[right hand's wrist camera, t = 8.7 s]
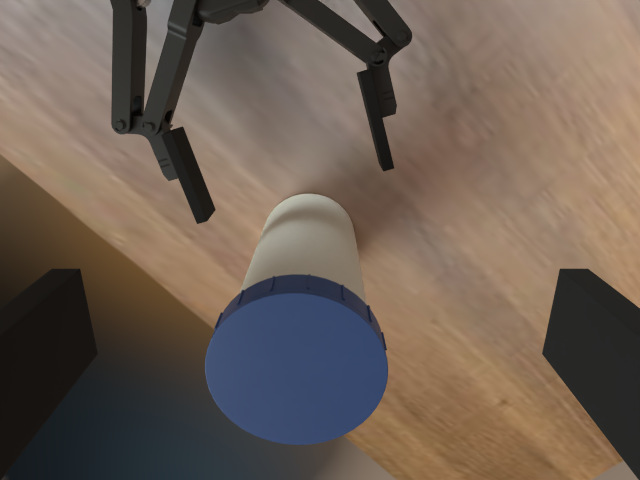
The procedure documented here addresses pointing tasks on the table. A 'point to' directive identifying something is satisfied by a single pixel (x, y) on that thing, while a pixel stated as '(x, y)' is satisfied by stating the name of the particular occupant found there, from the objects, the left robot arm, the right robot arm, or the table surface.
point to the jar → (308, 244)
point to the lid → (297, 360)
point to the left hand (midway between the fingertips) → (294, 192)
